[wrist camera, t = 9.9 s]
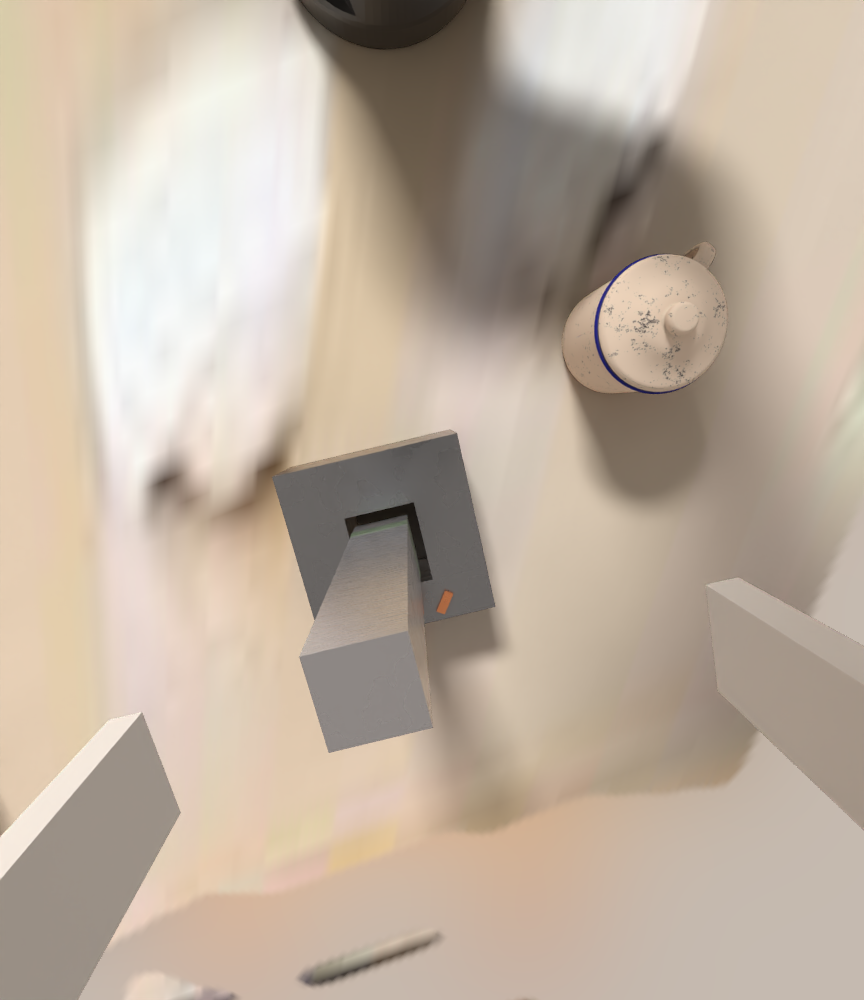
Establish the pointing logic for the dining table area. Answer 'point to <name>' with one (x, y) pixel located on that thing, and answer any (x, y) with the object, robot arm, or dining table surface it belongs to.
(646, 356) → the teacup with lid
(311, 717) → the dining table surface
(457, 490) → the sleeve base
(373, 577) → the column
